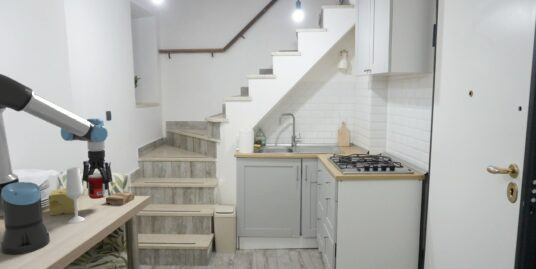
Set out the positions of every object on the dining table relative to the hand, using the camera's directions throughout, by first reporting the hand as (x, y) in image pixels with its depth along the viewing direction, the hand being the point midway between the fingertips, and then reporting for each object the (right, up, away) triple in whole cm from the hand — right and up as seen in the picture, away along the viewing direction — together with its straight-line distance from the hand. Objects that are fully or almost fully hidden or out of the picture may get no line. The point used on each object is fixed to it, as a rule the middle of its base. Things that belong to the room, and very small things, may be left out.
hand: (98, 195), depth 171 cm
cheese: (-15, -7, -4) cm, 17 cm away
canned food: (0, -1, 0) cm, 1 cm away
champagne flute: (-2, -9, -15) cm, 18 cm away
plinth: (+6, -5, +11) cm, 14 cm away
